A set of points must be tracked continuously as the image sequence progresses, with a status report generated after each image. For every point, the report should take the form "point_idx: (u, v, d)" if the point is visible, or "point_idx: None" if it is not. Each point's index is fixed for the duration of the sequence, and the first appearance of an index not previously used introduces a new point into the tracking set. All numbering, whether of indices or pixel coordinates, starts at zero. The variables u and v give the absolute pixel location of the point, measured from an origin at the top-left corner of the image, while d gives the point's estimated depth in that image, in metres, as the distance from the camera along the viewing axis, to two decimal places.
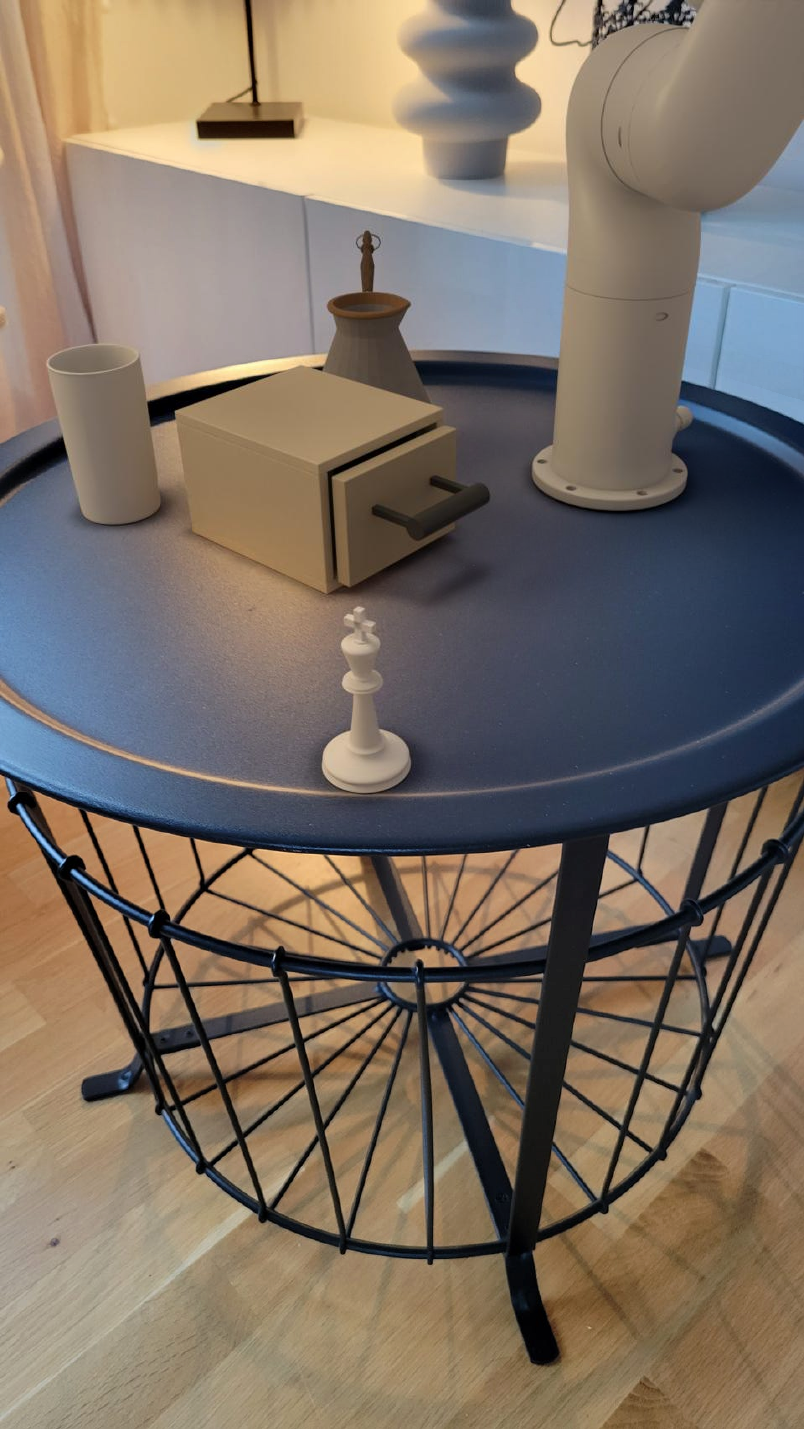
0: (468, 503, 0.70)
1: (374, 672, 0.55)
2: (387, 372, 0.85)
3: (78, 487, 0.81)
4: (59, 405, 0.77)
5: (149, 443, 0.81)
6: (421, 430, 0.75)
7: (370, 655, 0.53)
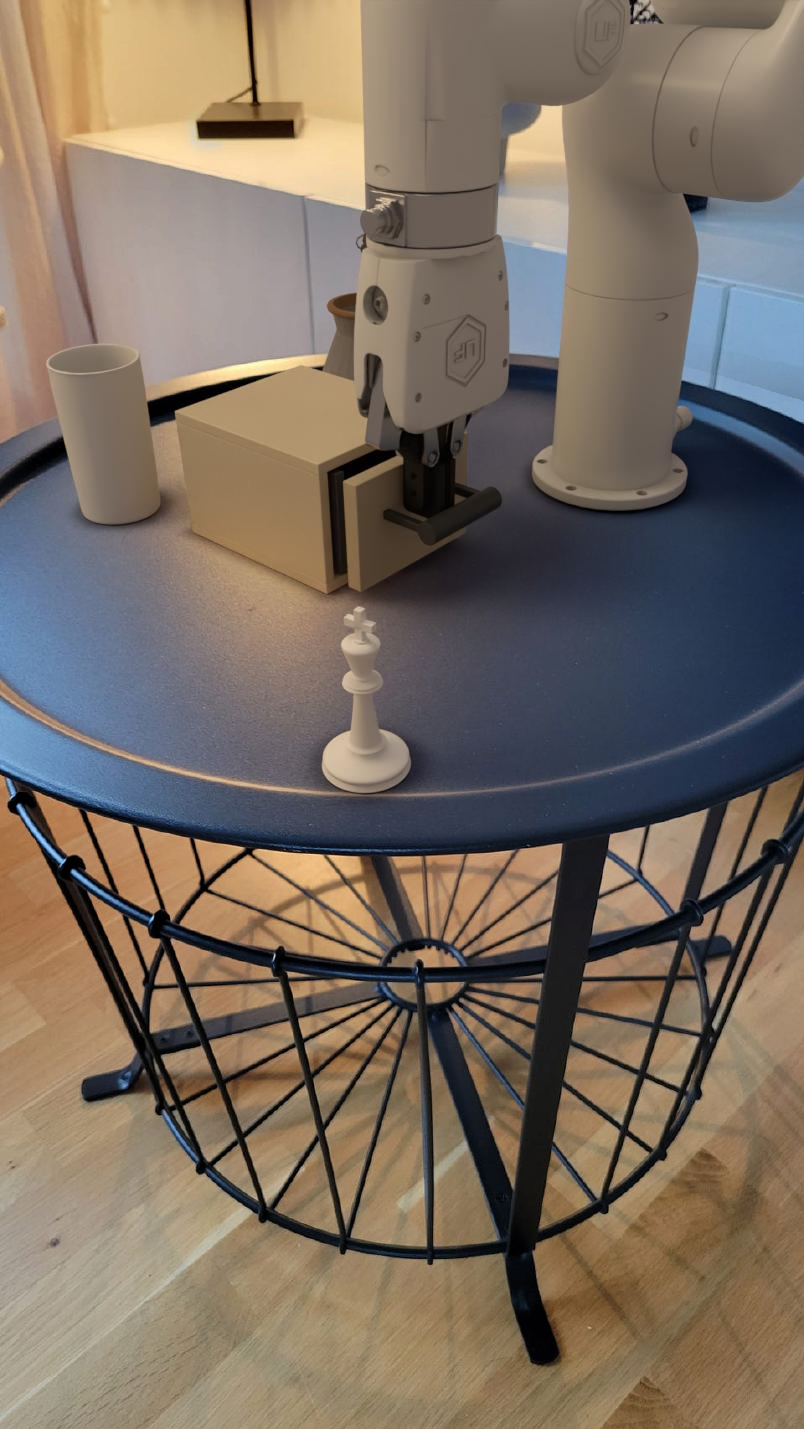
0: (480, 507, 0.70)
1: (374, 672, 0.55)
2: None
3: (78, 487, 0.81)
4: (59, 405, 0.77)
5: (149, 443, 0.81)
6: None
7: (370, 655, 0.53)
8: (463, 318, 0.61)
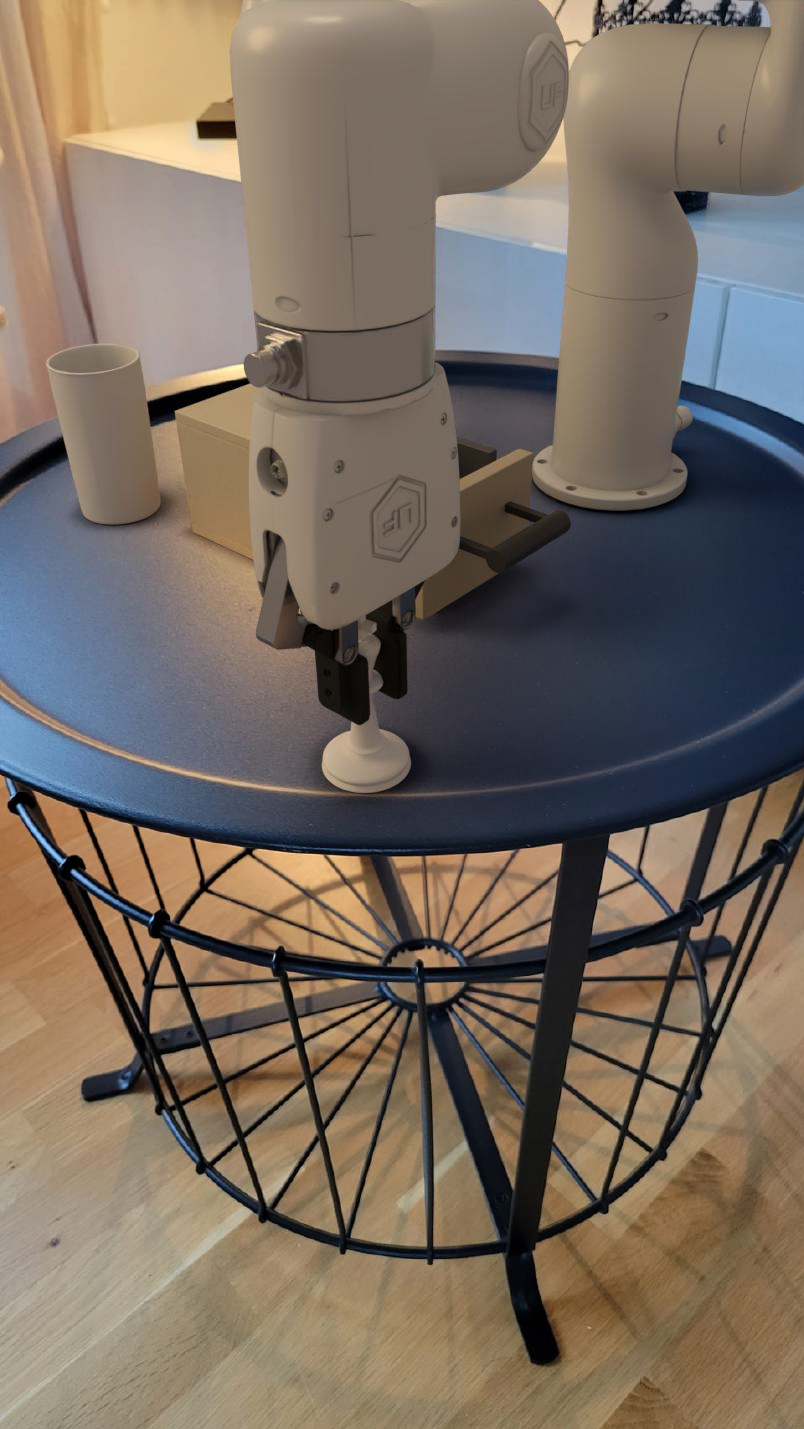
0: (550, 532, 0.67)
1: (374, 672, 0.55)
2: None
3: (78, 487, 0.81)
4: (59, 405, 0.77)
5: (149, 443, 0.81)
6: (494, 454, 0.72)
7: (370, 655, 0.53)
8: (393, 481, 0.46)
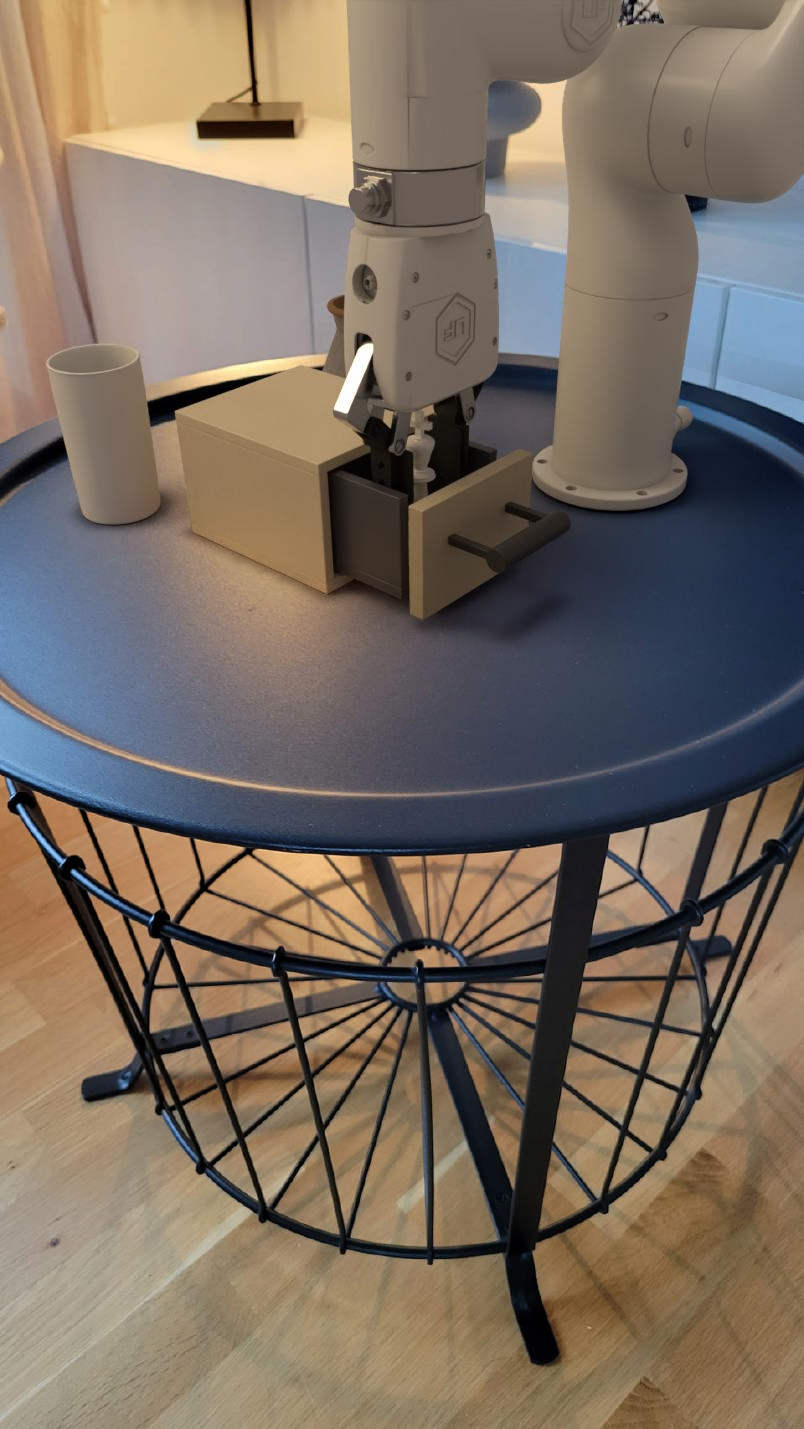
0: (550, 532, 0.67)
1: (428, 468, 0.71)
2: None
3: (78, 487, 0.81)
4: (59, 405, 0.77)
5: (149, 443, 0.81)
6: (495, 454, 0.72)
7: (427, 449, 0.69)
8: (452, 296, 0.62)
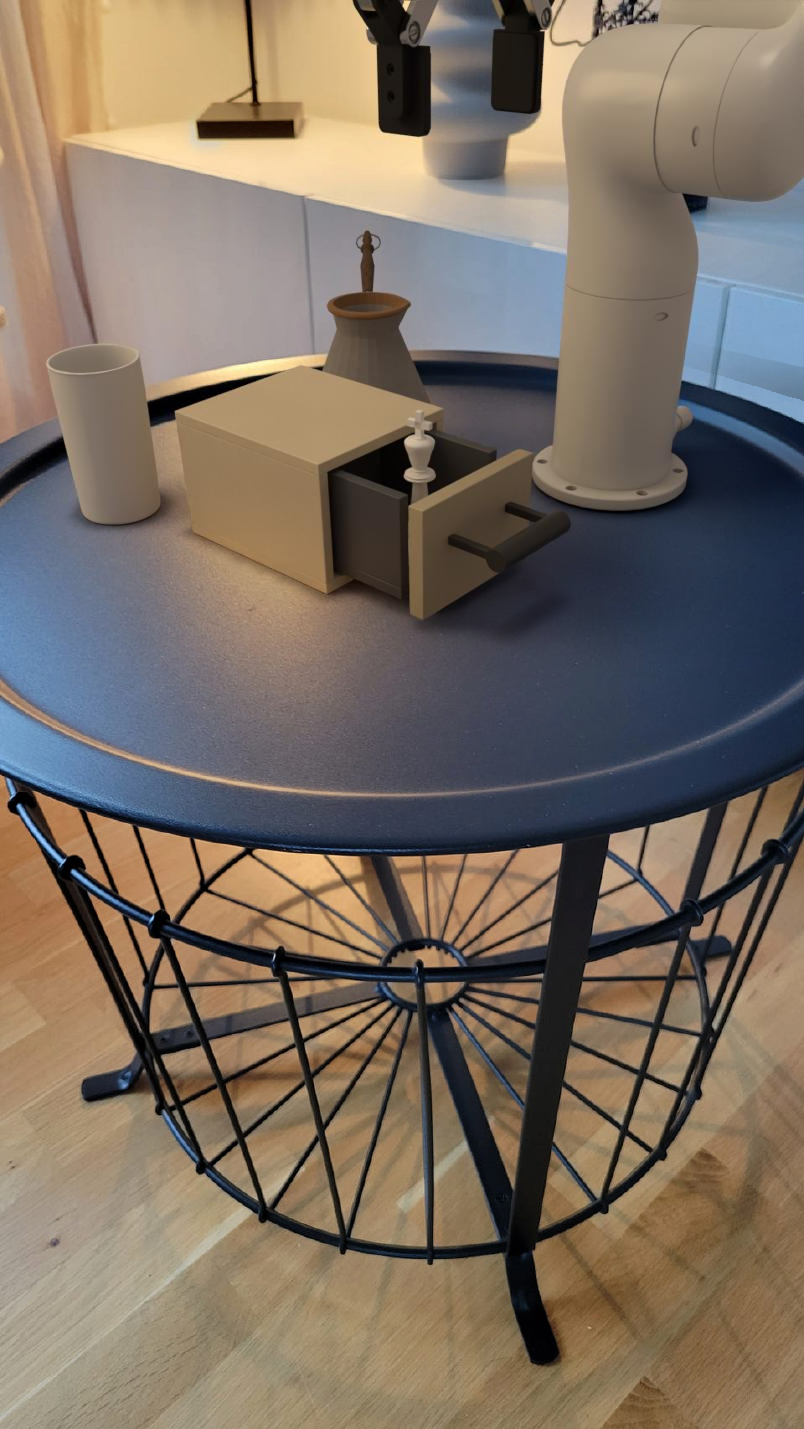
0: (550, 532, 0.67)
1: (428, 468, 0.71)
2: (387, 372, 0.85)
3: (78, 487, 0.81)
4: (59, 405, 0.77)
5: (149, 443, 0.81)
6: (495, 454, 0.72)
7: (427, 449, 0.69)
8: None
